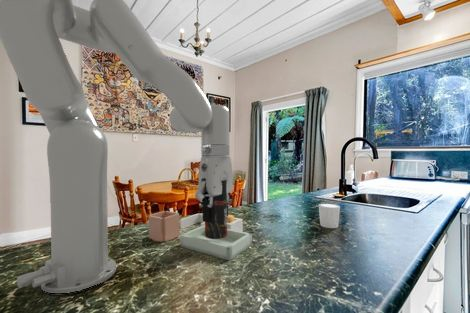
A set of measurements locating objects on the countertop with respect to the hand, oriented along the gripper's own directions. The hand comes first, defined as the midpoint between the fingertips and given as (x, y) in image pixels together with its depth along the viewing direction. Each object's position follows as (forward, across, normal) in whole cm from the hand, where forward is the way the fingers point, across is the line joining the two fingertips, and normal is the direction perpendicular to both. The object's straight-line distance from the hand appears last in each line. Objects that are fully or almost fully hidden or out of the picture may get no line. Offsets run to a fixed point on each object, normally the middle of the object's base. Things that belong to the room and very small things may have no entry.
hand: (215, 218), depth 62 cm
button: (+7, +10, +3) cm, 12 cm away
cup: (+7, -3, +17) cm, 19 cm away
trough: (+7, 0, 0) cm, 7 cm away
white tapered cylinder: (+8, +34, -23) cm, 42 cm away
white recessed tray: (+7, +10, +9) cm, 15 cm away
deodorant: (+5, 0, 0) cm, 5 cm away
